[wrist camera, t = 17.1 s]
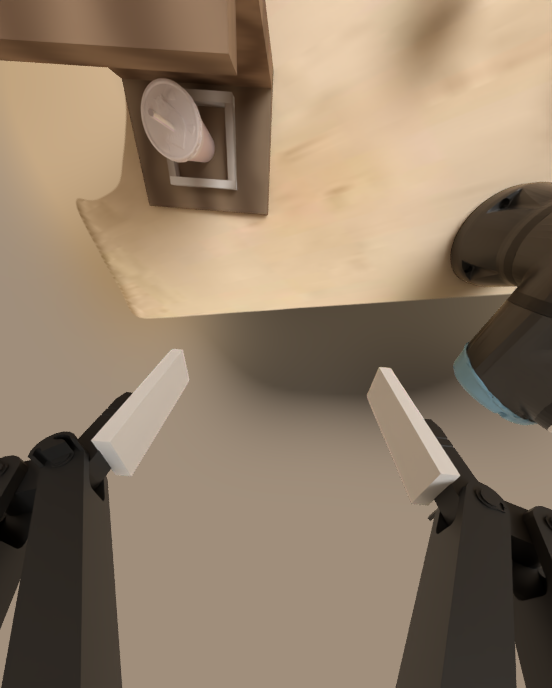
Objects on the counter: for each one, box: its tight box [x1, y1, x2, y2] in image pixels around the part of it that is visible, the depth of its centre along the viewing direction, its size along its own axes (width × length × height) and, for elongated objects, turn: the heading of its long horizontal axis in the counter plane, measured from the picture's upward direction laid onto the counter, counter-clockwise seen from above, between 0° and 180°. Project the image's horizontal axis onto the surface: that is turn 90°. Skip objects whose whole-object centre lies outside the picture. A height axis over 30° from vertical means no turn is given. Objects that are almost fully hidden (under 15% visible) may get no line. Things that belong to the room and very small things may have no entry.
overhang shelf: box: [0, 0, 273, 215], centre depth 21 cm, size 20×16×25 cm
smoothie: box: [141, 78, 215, 163], centre depth 25 cm, size 6×6×14 cm
